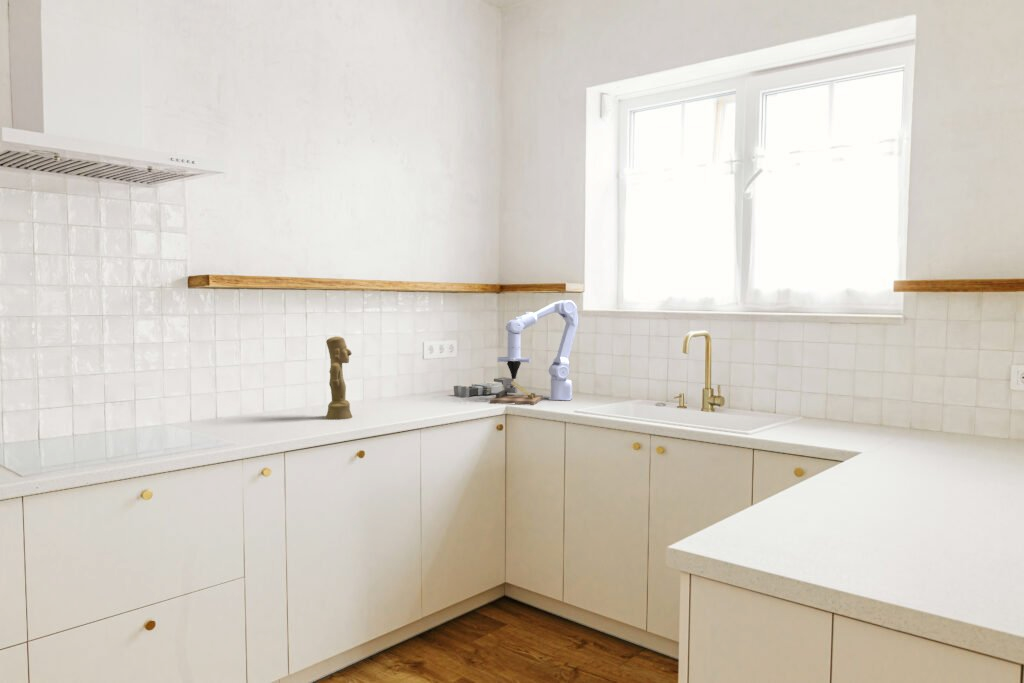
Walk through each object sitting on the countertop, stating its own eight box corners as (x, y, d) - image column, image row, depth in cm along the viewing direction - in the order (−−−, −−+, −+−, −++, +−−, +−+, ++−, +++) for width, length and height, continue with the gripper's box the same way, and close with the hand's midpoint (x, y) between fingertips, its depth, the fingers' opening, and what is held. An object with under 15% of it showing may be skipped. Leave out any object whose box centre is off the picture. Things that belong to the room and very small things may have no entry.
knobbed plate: (517, 392, 331) (517, 384, 331) (515, 393, 327) (515, 385, 327) (507, 391, 332) (508, 384, 332) (505, 392, 328) (505, 385, 328)
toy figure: (451, 383, 339) (500, 376, 359) (452, 397, 340) (501, 390, 360) (467, 385, 331) (516, 378, 351) (467, 400, 331) (517, 392, 351)
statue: (348, 419, 268) (347, 337, 267) (321, 419, 269) (321, 337, 267) (355, 415, 280) (355, 335, 278) (329, 414, 280) (329, 335, 278)
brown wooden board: (542, 398, 330) (542, 391, 329) (533, 405, 310) (533, 396, 310) (501, 397, 334) (501, 389, 334) (490, 403, 314) (490, 395, 314)
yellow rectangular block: (533, 398, 322) (534, 396, 322) (531, 398, 319) (532, 397, 319) (512, 382, 324) (513, 380, 323) (510, 383, 321) (511, 381, 321)
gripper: (495, 347, 319) (495, 379, 320) (528, 348, 315) (528, 380, 316) (499, 346, 326) (499, 377, 326) (531, 347, 322) (531, 378, 323)
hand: (513, 378), depth 322 cm, fingers closed
